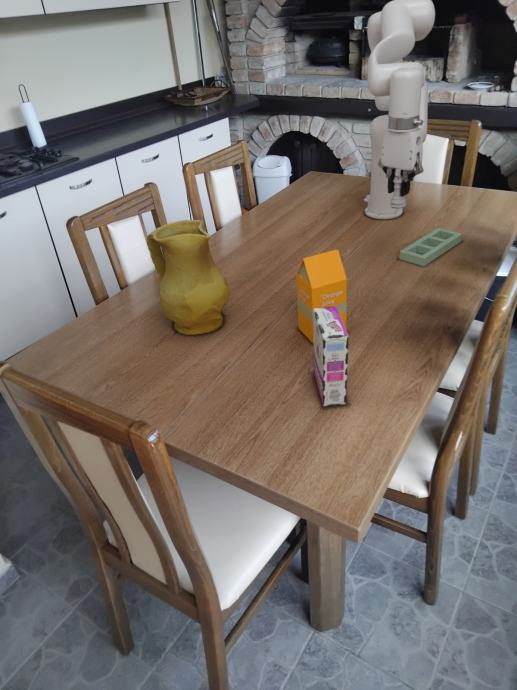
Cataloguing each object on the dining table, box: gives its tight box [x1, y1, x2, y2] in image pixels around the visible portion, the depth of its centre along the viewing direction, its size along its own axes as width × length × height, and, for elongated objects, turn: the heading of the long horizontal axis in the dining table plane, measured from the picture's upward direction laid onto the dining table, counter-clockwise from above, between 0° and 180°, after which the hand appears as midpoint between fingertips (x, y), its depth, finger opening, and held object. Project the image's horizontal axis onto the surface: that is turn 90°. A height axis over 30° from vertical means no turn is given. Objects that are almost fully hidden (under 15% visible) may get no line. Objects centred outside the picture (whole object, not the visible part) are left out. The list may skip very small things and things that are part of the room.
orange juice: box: [295, 248, 348, 345], centre depth 123 cm, size 8×9×20 cm
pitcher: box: [146, 219, 231, 336], centre depth 130 cm, size 17×19×25 cm
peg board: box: [398, 227, 463, 267], centre depth 158 cm, size 8×21×2 cm, turn 135°
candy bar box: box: [313, 306, 350, 408], centre depth 106 cm, size 11×5×16 cm, turn 5°
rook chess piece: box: [390, 175, 407, 209], centre depth 147 cm, size 4×4×8 cm
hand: (398, 192), depth 147 cm, fingers closed on rook chess piece, 3 cm apart
